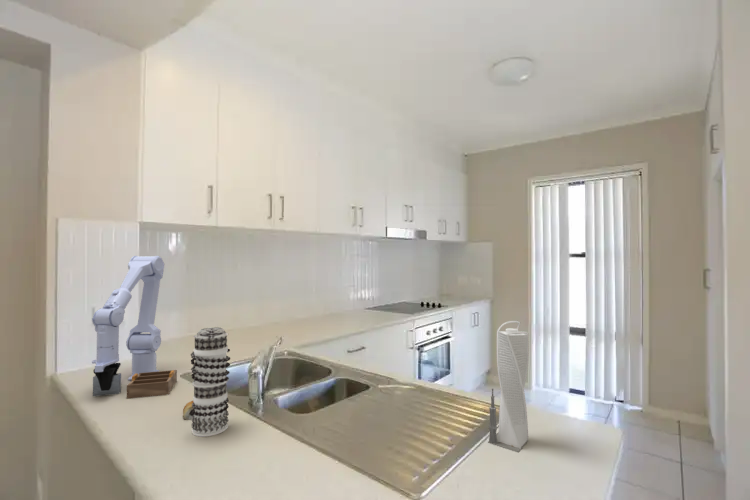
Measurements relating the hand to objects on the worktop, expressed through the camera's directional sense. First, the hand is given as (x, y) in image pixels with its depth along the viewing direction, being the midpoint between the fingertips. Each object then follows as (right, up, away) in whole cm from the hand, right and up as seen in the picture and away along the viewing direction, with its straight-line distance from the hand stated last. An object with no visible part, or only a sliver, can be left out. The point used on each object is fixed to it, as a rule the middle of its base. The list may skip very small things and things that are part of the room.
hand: (107, 388), depth 119 cm
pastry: (+35, -2, -15) cm, 39 cm away
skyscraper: (+117, -1, -32) cm, 122 cm away
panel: (0, -2, 0) cm, 2 cm away
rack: (+12, -2, +4) cm, 13 cm away
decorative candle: (+44, -1, -25) cm, 50 cm away
